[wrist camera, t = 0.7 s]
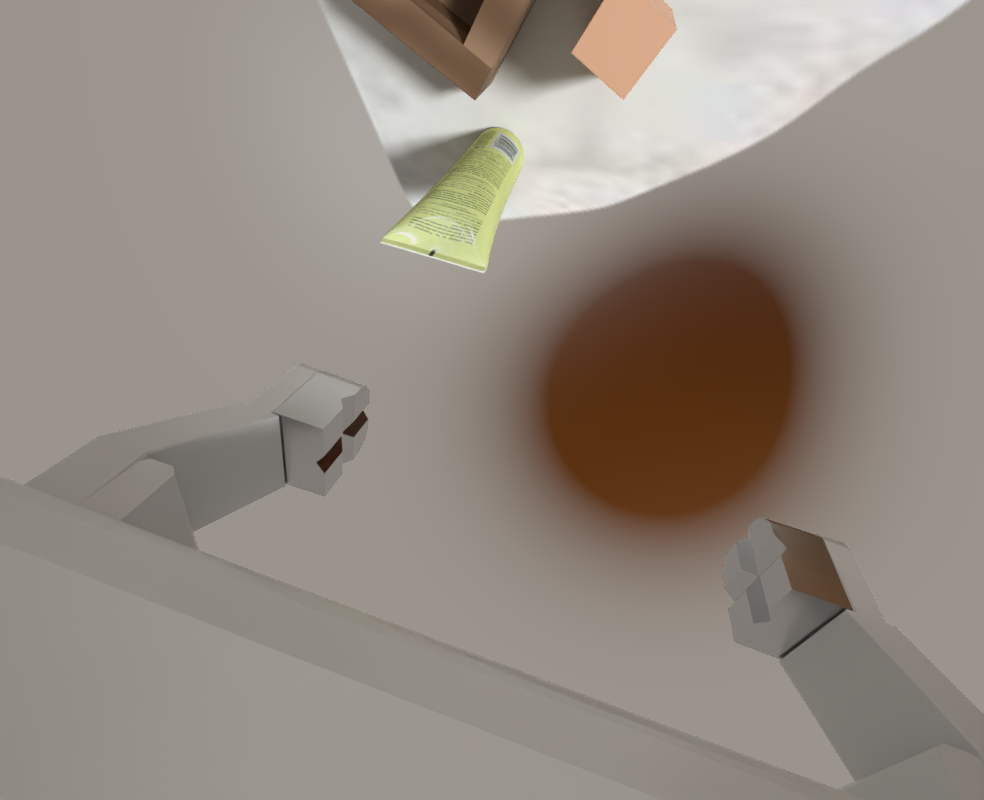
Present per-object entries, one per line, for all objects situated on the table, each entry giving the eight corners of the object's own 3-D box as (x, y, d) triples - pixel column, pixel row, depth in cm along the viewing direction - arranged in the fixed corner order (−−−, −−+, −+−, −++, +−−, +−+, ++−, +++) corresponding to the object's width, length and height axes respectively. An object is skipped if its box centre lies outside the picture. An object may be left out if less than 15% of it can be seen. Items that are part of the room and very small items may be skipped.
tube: (485, 193, 47) (421, 301, 34) (458, 145, 44) (377, 242, 31) (534, 166, 44) (485, 273, 31) (508, 113, 41) (442, 205, 28)
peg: (626, -37, 33) (620, -27, 27) (671, 9, 34) (676, 29, 28) (584, 29, 36) (571, 52, 30) (627, 70, 37) (623, 100, 31)
